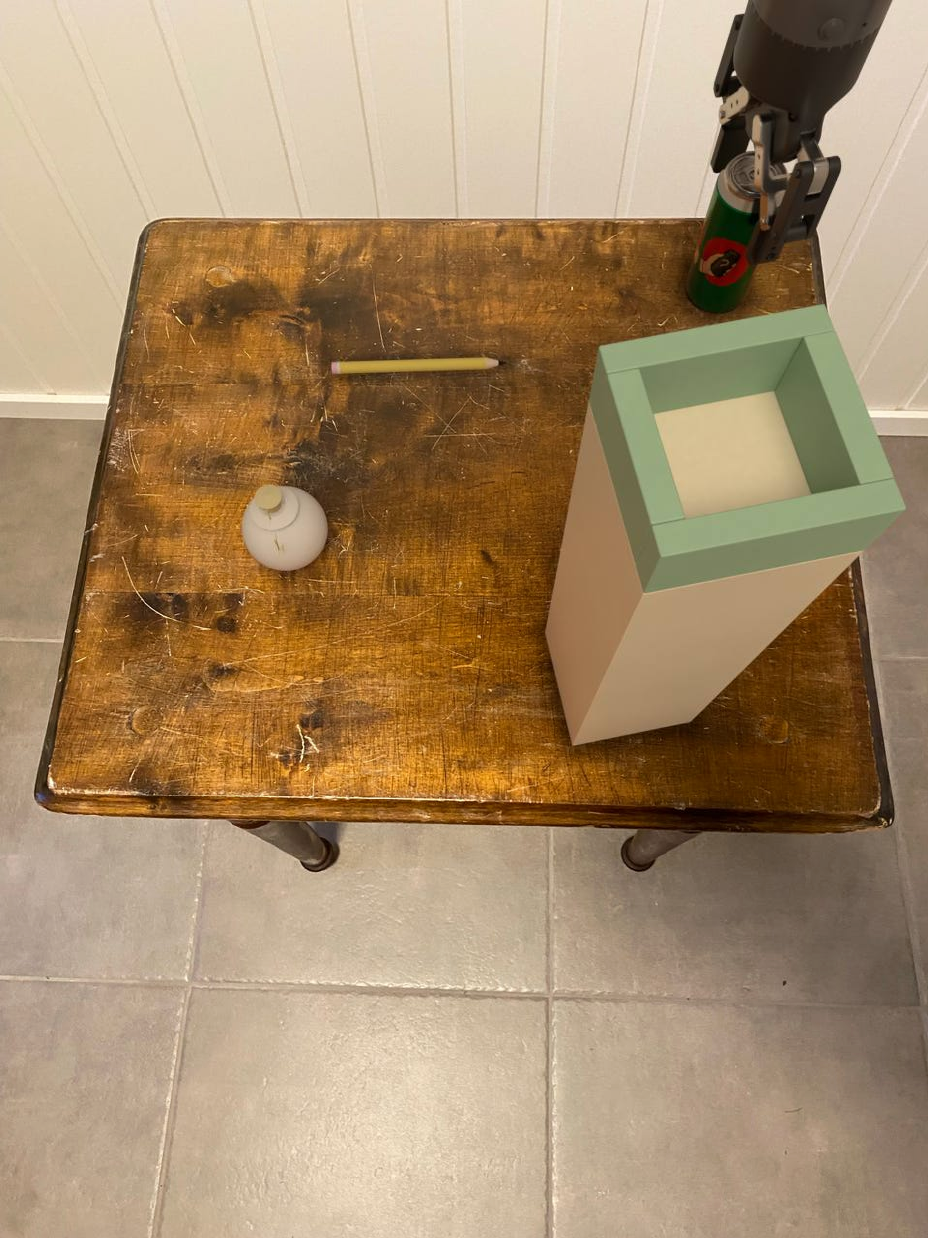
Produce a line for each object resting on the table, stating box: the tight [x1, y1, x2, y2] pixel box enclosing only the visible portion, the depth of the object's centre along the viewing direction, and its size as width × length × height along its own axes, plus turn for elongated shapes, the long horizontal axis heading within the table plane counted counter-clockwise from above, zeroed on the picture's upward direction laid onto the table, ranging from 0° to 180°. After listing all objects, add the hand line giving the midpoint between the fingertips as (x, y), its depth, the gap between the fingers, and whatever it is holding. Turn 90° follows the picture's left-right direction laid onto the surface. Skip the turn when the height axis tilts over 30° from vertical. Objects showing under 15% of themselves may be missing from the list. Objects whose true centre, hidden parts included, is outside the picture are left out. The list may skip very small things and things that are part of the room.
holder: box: [544, 303, 907, 747], centre depth 46 cm, size 8×8×34 cm
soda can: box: [685, 150, 789, 313], centre depth 67 cm, size 5×5×12 cm
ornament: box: [241, 484, 329, 572], centre depth 61 cm, size 6×7×10 cm
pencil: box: [331, 356, 507, 375], centre depth 70 cm, size 1×14×1 cm, turn 91°
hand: (741, 212), depth 64 cm, fingers open, 8 cm apart
